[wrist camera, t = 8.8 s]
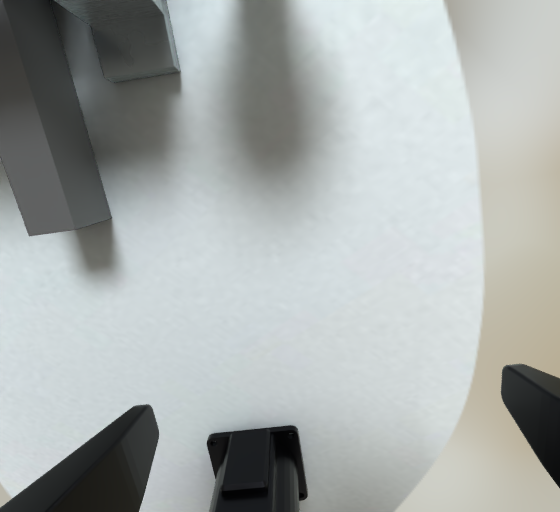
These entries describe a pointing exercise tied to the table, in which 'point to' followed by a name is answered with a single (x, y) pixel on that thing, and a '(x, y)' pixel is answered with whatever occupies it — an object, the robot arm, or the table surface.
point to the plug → (44, 125)
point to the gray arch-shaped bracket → (129, 36)
